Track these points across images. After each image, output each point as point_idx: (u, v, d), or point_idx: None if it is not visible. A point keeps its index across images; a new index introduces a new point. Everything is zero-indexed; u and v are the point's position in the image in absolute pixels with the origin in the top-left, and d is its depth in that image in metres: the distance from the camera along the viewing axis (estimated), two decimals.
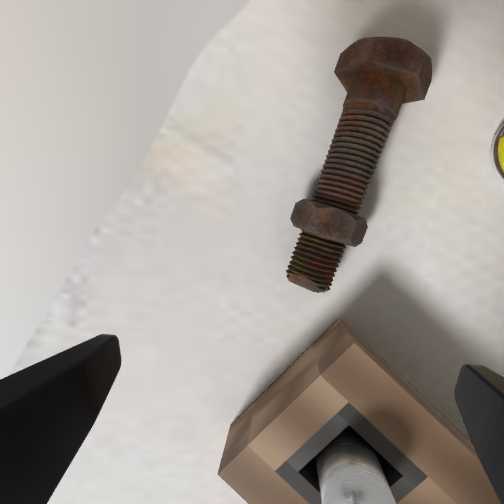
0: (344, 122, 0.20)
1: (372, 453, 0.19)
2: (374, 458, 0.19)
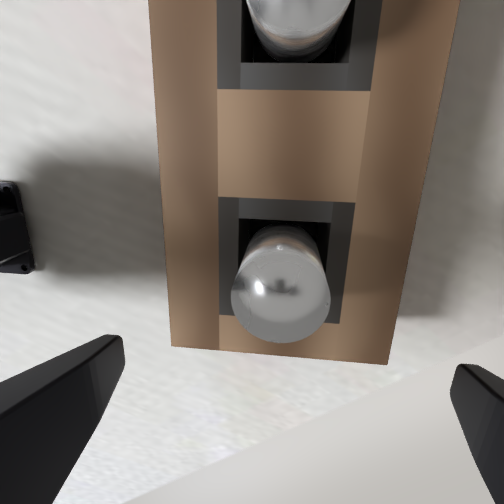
0: None
1: None
2: None
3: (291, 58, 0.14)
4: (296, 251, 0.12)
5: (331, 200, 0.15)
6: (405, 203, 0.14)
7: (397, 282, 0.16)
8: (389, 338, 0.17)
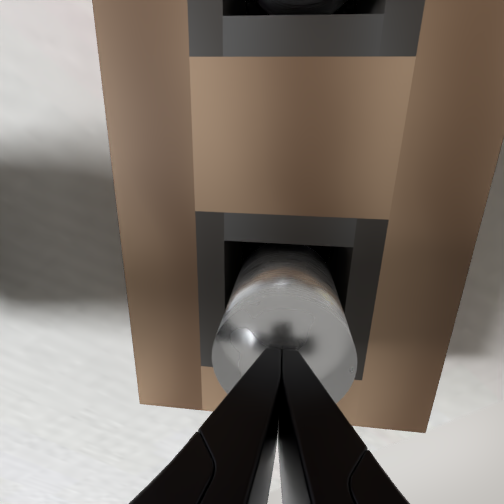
0: None
1: None
2: None
3: (297, 10, 0.09)
4: (306, 292, 0.08)
5: (354, 216, 0.10)
6: (460, 221, 0.10)
7: (444, 328, 0.11)
8: (430, 399, 0.12)
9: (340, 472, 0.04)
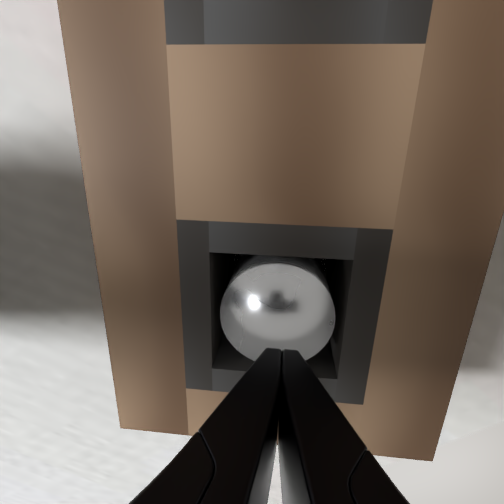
0: None
1: None
2: None
3: None
4: (295, 261, 0.10)
5: (354, 226, 0.09)
6: (474, 231, 0.09)
7: (454, 349, 0.10)
8: (437, 425, 0.11)
9: (340, 472, 0.04)
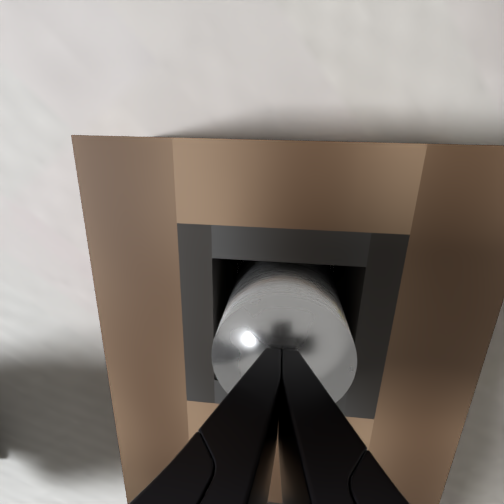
0: None
1: None
2: None
3: None
4: None
5: None
6: None
7: None
8: None
9: (340, 471, 0.04)
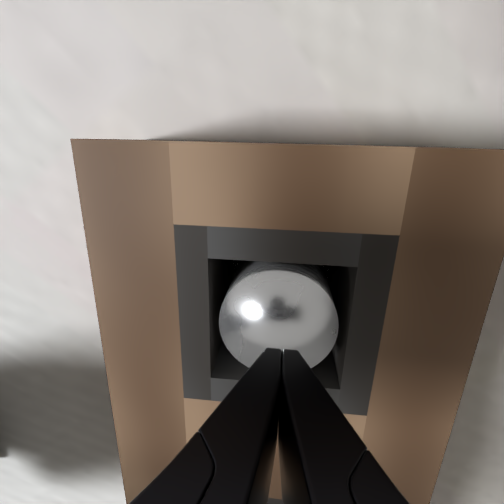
0: None
1: None
2: None
3: None
4: None
5: None
6: None
7: None
8: None
9: (340, 472, 0.04)
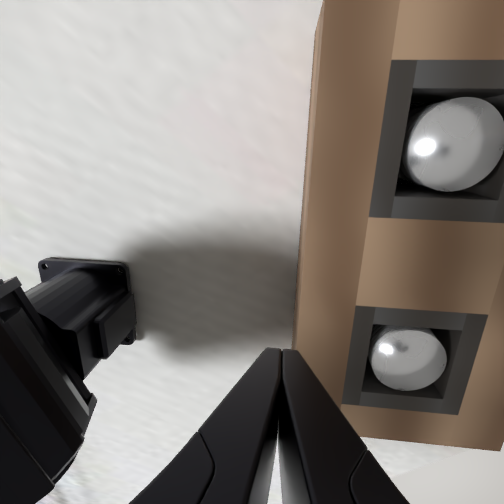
0: None
1: None
2: None
3: None
4: None
5: (465, 312, 0.16)
6: None
7: None
8: None
9: (340, 472, 0.04)
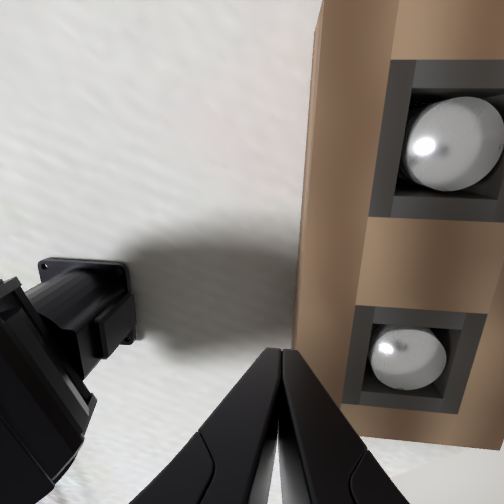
0: None
1: None
2: None
3: None
4: None
5: (464, 311, 0.16)
6: None
7: None
8: None
9: (340, 472, 0.04)
